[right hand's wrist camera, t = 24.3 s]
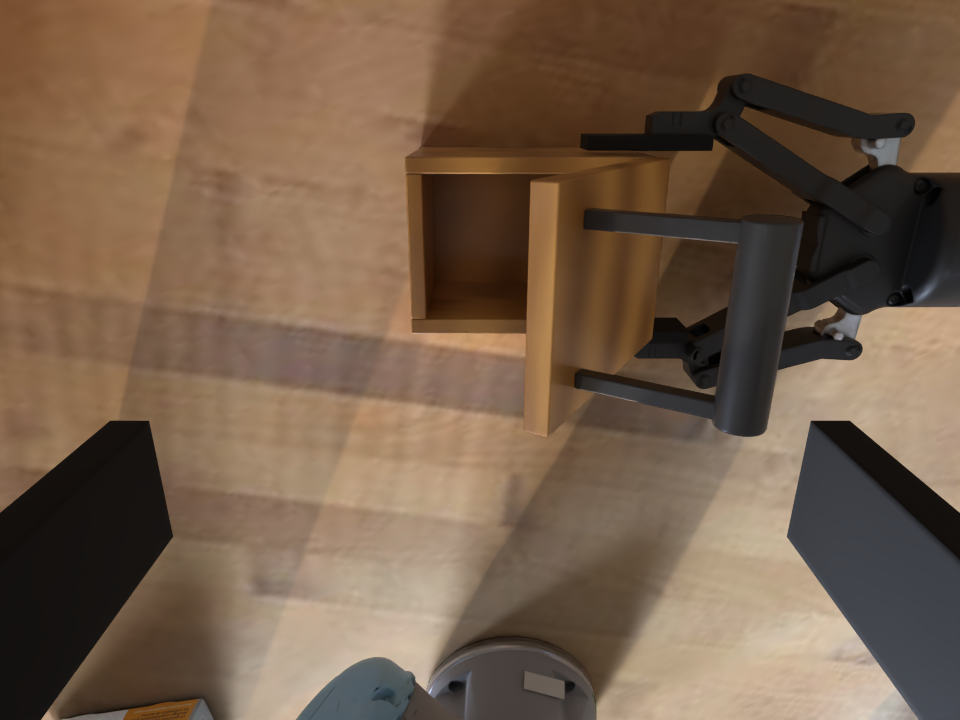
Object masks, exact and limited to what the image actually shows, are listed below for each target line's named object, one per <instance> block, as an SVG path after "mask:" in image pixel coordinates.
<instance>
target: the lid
mask: <svg viewBox="0 0 960 720" xmlns="http://www.w3.org/2000/svg"><path fill="white" fill-rule="evenodd" d="M669 170H670V158H651V157H650V158H645V159H640V160H634V161H629V162H624V163H619V164H613V165H608V166H603V167H597V168H592V169H587V170H582V171H576V172H571V173H566V174H560V175H555V176H550V177H545V178H539V179H534V180H531V184H530V220H529V255H528V290H527V325H526V361H525V396H524V431H527V432H530V433H534V434H538V435H542V436H545V437H549V436H550V435H551V434H552V433H553V432H554V431H555V430H556V429H557V428H558V427H559V426H560V425H561V424H563V423H564V422H565V421H566V420H567V419H568V418H569V417H570V416H571V415H572V414H573V413H574V412H575V411H576V410H577V409H578V408H579V407H580V406H582V405H583V404H584V403H585V402H586V401H587V400H588V399H589V398H590V397H591V396H592V395H593V394H594V393H597V394H602V395H606V396H611V397H615V398H620V399H624V400H629V401H633V402H638V403H642V404H647V405H651V406H656V407H660V408H664V409H669V410H673V411H678V412H682V413H687V414H691V415H696V416H700V417H705V418H709V419H712V423H713V425H714V426H715V427H716V428H718V429H719V430H721V431H723V432H725V433H728V434H732V435H736V436H743V437H753V436H759V435H761V434H763V433H764V432H765V431H766V429H767V424H768V418H769V413H770V407H771V402H772V396H773V391H774V385H775V380H776V374H777V369H778V363H779V358H780V352H781V347H782V341H783V336H784V330H785V325H786V319H787V314H788V308H789V303H790V297H791V292H792V287H793V281H794V276H795V270H796V265H797V259H798V254H799V248H800V243H801V237H802V232H803V226H804V222H803V220H801V219H798V218H795V217H789V216H781V215H748V216H744V217H742V219H729V218H716V217H703V216H690V215H677V214H665V209H666V199H667V189H668V180H669ZM663 237H672V238H682V239H693V240H703V241H714V242H724V243H735V244H737V249H736V256H735V263H734V270H733V277H732V284H731V290H730V297H729V304H728V311H727V318H726V325H725V331H724V338H723V345H722V352H721V359H720V366H719V372H718V379H717V386H716V393H715V396H713V395H709V394H704V393H699V392H694V391H689V390H684V389H680V388H675V387H670V386H665V385H660V384H655V383H651V382H646V381H641V380H636V379H631V378H626V377H621V376H617V375H614V374H615V373H616V372H617V371H619V370H620V369H621V368H622V367H623V366H624V365H625V364H626V363H627V362H628V361H629V360H630V359H631V358H632V357H633V356H634V355H635V354H636V353H638V352H639V351H640V350H641V349H642V348H643V347H644V346H645V345H646V344H647V343H648V342H649V341H650V340H651V339H652V334H653V324H654V315H655V305H656V295H657V286H658V276H659V267H660V257H661V247H662V238H663Z"/></svg>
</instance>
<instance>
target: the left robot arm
mask: <svg viewBox="0 0 960 720" xmlns="http://www.w3.org/2000/svg"><path fill="white" fill-rule="evenodd" d="M717 92H718V93H717V95H716V97H715V99H714V101H713V103H712V105H711V106H710V107H709V108H707V109H706V110H704V111H699V112H653V113H651V114H649V115H646V121H645V133H644V134H581V144H580V148H582V149H584V150H587V151H712V148H713V140H714V139H715V140H716V141H718V142H719V143H721V144H722V145H724V146H725V147H727V148H728V149H730V150H731V151H733V152H734V153H736V154H737V155H739V156H740V157H742V158H743V159H745V160H746V161H748V162H749V163H751V164H752V165H754V166H755V167H757V168H758V169H760V170H761V171H763V172H764V173H766V174H767V175H769V176H770V177H772V178H773V179H775V180H776V181H778V182H779V183H781V184H782V185H784V186H785V187H787V188H788V189H790V190H791V192H792V193H794V194H795V195H796V196H798V197H799V198H801V199H802V200H804V201H805V202H807V203H808V204H810V206H809V208H808V209H807V211H803V212H802V217H801V220H803V222H804V226H803V232H802V237H801V243H800V248H799V254H798V259H797V265H796V266H797V267H796V270H795V276H794V281H793V287H792V292H791V297H790V303H789V308H788V314H787V317H788V316H790V315H792V314H794V313H796V312H798V311H800V310H809V309H812V308H815V307H817V306H819V305H821V304H823V303H825V302H827V301H830V302H831V303H832V304H834V305H835V306H836V307H838V310H837V312H836V314H835V315H834V316H832V317H830V318H827V319H823V320H818V321H816V322H815V324H814V327H803V328H797V329H792V330H789V331H785V332H784V336H783V341H782V347H781V352H780V358H779V363H778V369H777V370H780V369H784V368H787V367H791V366H795V365H799V364H803V363H807V362H810V361H814V360H818V359H837V360H854V359H856V358H858V357H859V356H860V355H861V353H862V349H863V347H862V345H861V344H860V343H859V342H858V341H856V340H855V338H856V334H857V331H858V327H859V324H860V320H861V317H862V315H864V314H867V313H869V312H871V311H873V310H876V309H878V308H882V307H960V173H909V172H906V171H904V170H903V169H902V168H900V167H898V166H896V164H897V158H898V152H899V146H900V140H901V138H902V137H905V136H907V135H909V134H910V133H911V132H912V130H913V129H914V126H915V119H914V117H913V116H912V115H911V114H908V113H869V114H867V113H864V112H861V111H859V110H856V109H853V108H850V107H847V106H844V105H841V104H838V103H835V102H832V101H829V100H826V99H823V98H820V97H817V96H814V95H811V94H808V93H805V92H802V91H799V90H796V89H793V88H790V87H787V86H785V85H782V84H779V83H776V82H773V81H770V80H767V79H764V78H761V77H758V76H755V75H752V74H739V75H732V76H727V77H724V78H723V79H722V80H721V81H720V82H719V84H718V88H717ZM744 107H748V108H751V109H754V110H757V111H760V112H763V113H766V114H769V115H772V116H775V117H778V118H781V119H784V120H787V121H790V122H793V123H796V124H799V125H802V126H805V127H808V128H811V129H814V130H817V131H820V132H823V133H826V134H829V135H833V136H837V137H846V138H852V140H851V144H852V146H853V149H854V150H855V151H856V152H858V153H862V154H865V155H866V156H867V157H868V160H869V165H867V166H865V167H864V168H862V169H860V170H859V171H857V172H856V173H854V174H853V175H851V176H850V177H848V178H847V179H845V180H844V181H842V182H841V183H840V182H839V181H837V180H835V179H833V178H831V177H829V176H827V175H825V174H823V173H822V172H820V171H819V170H817V169H816V168H815V167H813V166H812V165H810V164H809V163H807V162H806V161H804V160H803V159H801V158H800V157H798V156H797V155H795V154H794V153H792V152H791V151H790V150H788V149H787V148H785V147H784V146H782V145H781V144H779V143H778V142H776V141H775V140H773V139H772V138H770V137H769V136H767V135H766V134H765V133H763V132H762V131H760V130H759V129H757V128H756V127H754V126H753V125H751V124H750V123H748V122H747V121H745V120H744V119H742V118H741V117H740V115H741V113H742V111H743V109H744ZM727 311H728V307H726V308H724V309H722V310H720V311H718V312H716V313H715V314H713V315H711V316H709V317H707V318H705V319H703V320H701V321H699V322H697V323H695V324H693V325H691V326H689V327H688V328H686V327H685V326H684V325H683V324H682V323H681V322H680V321H679V320H678V319H677V318H654V324H653V334H652V339H651V340H650V341H649V342H648V343H647V344H646V345H645V346H644V347H643V348H642V349H641V350H640V351H639V352H638V353H636V354H635V355H634V357H636V358H679V359H682V360H683V369H684V371H685V372H686V373H687V375H688V376H689V377H690V378H691V380H692V381H693V382H694V384H695V385H696V386H697V387H698V388H701V389H707V388H711V387H715V386H717V379H718V372H719V366H720V359H721V352H722V345H723V338H724V331H725V325H726V318H727ZM296 720H596V703H595V697H594V692H593V688H592V684H591V681H590V679H589V677H588V675H587V673H586V672H585V670H584V669H583V667H582V666H581V665H580V664H579V663H578V662H577V661H576V660H575V659H574V658H573V657H572V656H570V655H569V654H567V653H566V652H564V651H563V650H561V649H559V648H557V647H555V646H553V645H550V644H548V643H545V642H542V641H538V640H534V639H529V638H520V637H502V638H493V639H488V640H484V641H480V642H477V643H474V644H471V645H469V646H466V647H464V648H462V649H460V650H459V651H457V652H455V653H454V654H452V655H451V656H450V657H448V658H447V659H446V660H445V661H444V662H443V663H442V664H441V665H440V666H439V667H438V668H437V669H436V671H435V672H434V674H433V675H432V677H431V679H430V681H429V684H428V687H427V690H426V691H425V690H424V689H423V688H422V687H421V686H420V685H419V684H418V683H416V681H415V676H414V675H413V673H412V672H410V671H404V670H403V669H402V668H401V667H399V666H398V665H397V664H395V663H394V662H393V661H391V660H389V659H387V658H382V657H373V658H368V659H365V660H362V661H360V662H358V663H356V664H354V665H352V666H350V667H349V668H347V669H346V670H345V671H343V672H342V673H341V674H340V675H339V676H337V677H335V678H334V679H333V680H332V681H331V682H329V683H328V684H327V685H326V686H325V687H324V688H323V689H322V690H321V691H320V692H319V693H318V694H317V695H316V696H315V697H314V699H313V700H312V701H311V702H310V703H309V704H308V705H307V706H306V708H305V709H304V710H303V711H302V713H301V714H300V715H299V716H298V718H297V719H296Z"/></svg>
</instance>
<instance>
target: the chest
mask: <svg viewBox="0 0 960 720" xmlns="http://www.w3.org/2000/svg"><path fill="white" fill-rule="evenodd" d="M650 157H651V158H656V157H654V156H650V155H646V154H642V153H638V152H635V151H587V150H584V149H582V148H580V147H420V148H419V149H418V150H417V151H415V152H413V153H412V154H410V155H408V156H407V157H405V168H406V173H407V174H406V193H407V219H408V244H409V269H410V294H411V318H412V333H463V334H526V325H527V290H528V255H529V220H530V184H531V180H534V179H539V178H545V177H550V176H555V175H560V174H566V173H571V172H576V171H582V170H587V169H592V168H597V167H603V166H608V165H613V164H619V163H624V162H629V161H634V160H640V159H645V158H650Z"/></svg>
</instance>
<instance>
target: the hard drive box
mask: <svg viewBox="0 0 960 720" xmlns="http://www.w3.org/2000/svg"><path fill="white" fill-rule="evenodd" d="M61 720H214V719H213V717H212V715H211V713H210V711H209V709H208V707H207V705H206V703H205V701H204V699H202V698H200V699H193V700H187V701H180V702H165V703H159V704H156V705H152V706H147V707H141V708H134V709H128V710H122V711H114V712H107V713H101V714H88V715H82V716H77V717H73V718H67V719H61Z"/></svg>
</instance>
